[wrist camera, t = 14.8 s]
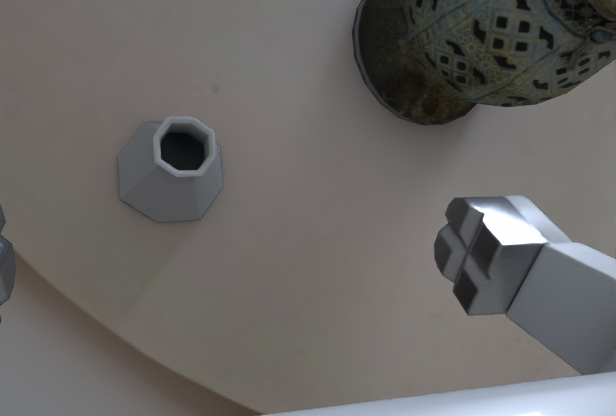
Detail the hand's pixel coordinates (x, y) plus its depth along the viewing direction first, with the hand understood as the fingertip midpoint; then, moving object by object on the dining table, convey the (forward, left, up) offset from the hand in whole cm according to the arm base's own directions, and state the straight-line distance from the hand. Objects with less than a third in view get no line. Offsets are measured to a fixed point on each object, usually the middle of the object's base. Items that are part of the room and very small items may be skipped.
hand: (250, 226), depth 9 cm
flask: (-1, +4, -26) cm, 26 cm away
